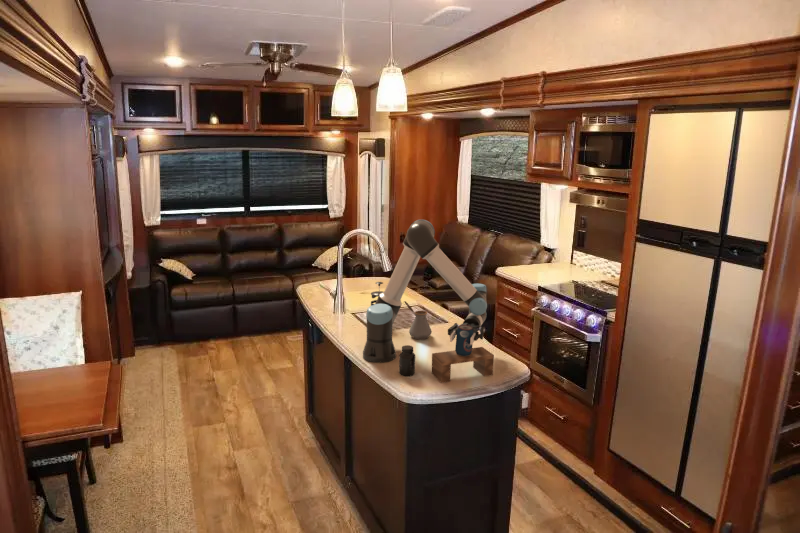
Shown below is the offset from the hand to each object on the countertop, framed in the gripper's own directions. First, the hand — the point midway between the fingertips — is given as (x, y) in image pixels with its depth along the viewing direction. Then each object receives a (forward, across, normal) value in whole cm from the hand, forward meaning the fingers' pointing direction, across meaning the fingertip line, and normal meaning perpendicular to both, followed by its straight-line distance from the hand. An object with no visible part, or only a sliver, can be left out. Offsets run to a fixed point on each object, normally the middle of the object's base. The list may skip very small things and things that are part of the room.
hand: (461, 340), depth 224 cm
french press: (-55, +57, -17) cm, 81 cm away
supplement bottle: (+3, +22, -17) cm, 28 cm away
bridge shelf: (-5, 0, -17) cm, 18 cm away
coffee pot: (-45, +34, -17) cm, 59 cm away
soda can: (-5, 0, -8) cm, 9 cm away
